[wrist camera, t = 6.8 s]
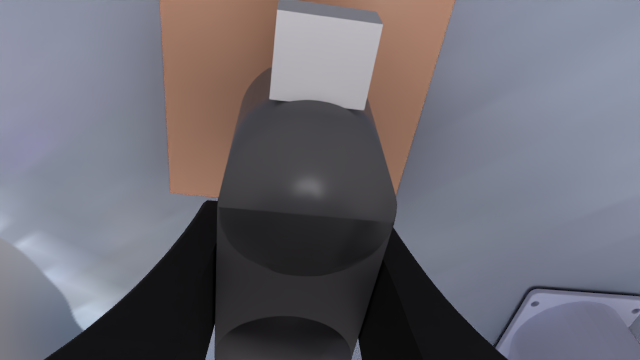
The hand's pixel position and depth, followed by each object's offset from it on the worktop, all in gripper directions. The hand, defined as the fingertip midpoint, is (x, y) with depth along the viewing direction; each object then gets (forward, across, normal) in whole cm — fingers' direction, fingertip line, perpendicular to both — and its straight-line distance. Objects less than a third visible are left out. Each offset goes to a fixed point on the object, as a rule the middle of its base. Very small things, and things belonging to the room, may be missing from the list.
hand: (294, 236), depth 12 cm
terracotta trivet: (+9, 0, 0) cm, 9 cm away
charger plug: (+2, 0, 0) cm, 2 cm away
